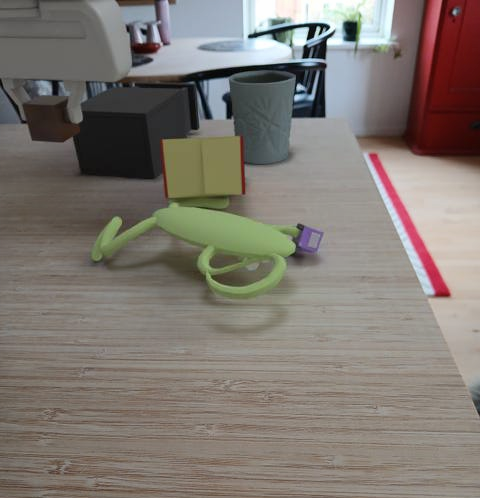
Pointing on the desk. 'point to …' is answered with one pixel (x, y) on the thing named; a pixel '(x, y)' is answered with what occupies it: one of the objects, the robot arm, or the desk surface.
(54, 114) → the block
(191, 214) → the figurine
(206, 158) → the baking soda box
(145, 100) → the dark grey box
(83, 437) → the desk surface
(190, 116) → the basket
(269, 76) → the grey green embossed cup
